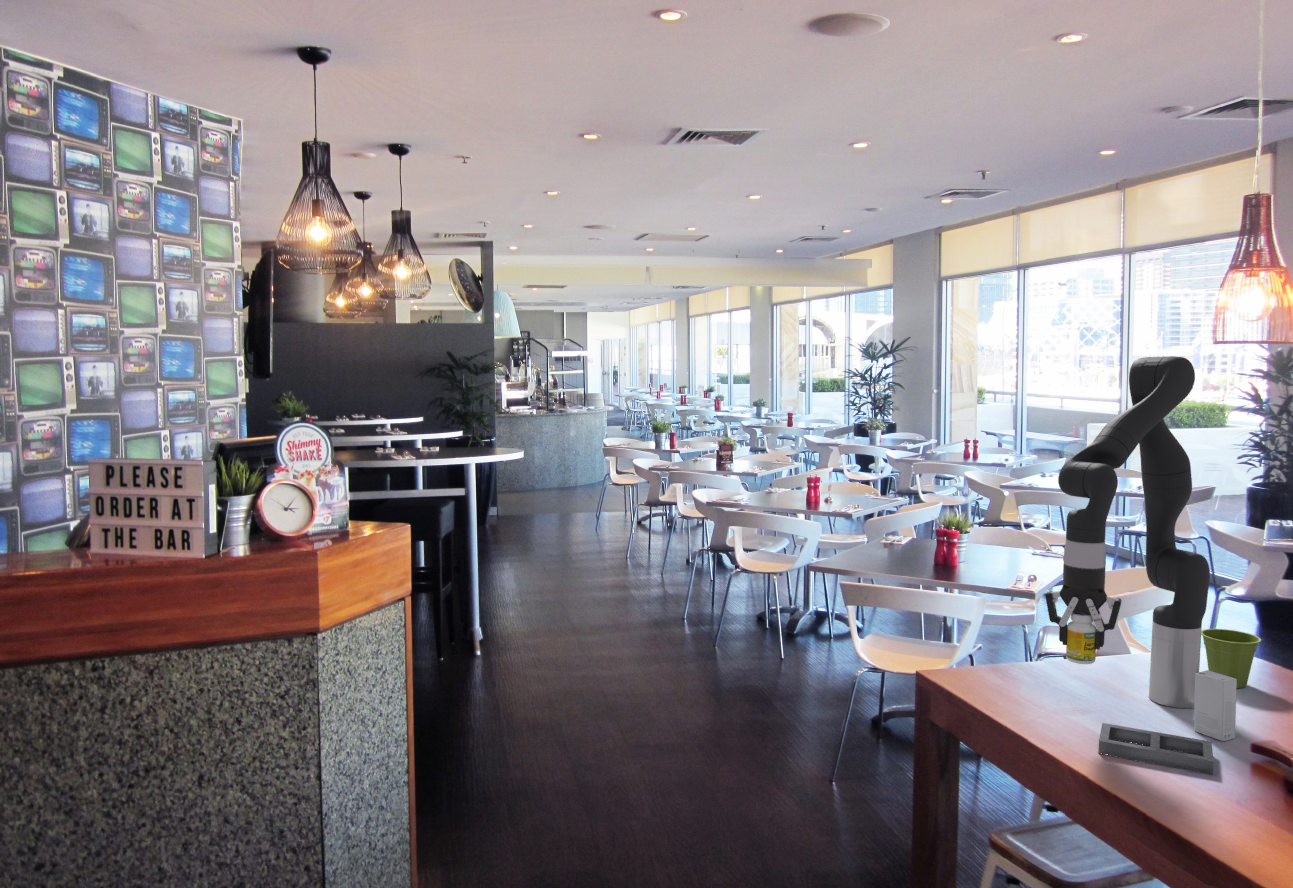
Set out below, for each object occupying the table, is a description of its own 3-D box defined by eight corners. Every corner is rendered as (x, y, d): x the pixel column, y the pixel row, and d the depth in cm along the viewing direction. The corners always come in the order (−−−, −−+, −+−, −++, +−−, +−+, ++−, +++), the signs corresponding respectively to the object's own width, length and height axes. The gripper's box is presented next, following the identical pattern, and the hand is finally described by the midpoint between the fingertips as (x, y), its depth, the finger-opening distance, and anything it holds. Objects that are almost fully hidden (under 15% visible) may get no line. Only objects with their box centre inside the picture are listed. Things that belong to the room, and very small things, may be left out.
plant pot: (1261, 682, 215) (1265, 634, 214) (1253, 696, 206) (1256, 646, 205) (1203, 670, 222) (1205, 624, 221) (1192, 684, 213) (1195, 636, 212)
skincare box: (1236, 738, 183) (1239, 678, 182) (1221, 742, 181) (1225, 681, 180) (1205, 727, 188) (1208, 668, 187) (1191, 731, 186) (1194, 672, 185)
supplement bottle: (1076, 654, 189) (1077, 608, 189) (1101, 661, 185) (1103, 614, 184) (1060, 659, 187) (1061, 612, 186) (1085, 666, 182) (1087, 618, 181)
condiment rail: (1101, 734, 184) (1102, 722, 184) (1210, 754, 175) (1211, 741, 175) (1098, 753, 176) (1098, 740, 176) (1212, 774, 167) (1213, 761, 167)
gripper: (1126, 562, 184) (1122, 646, 185) (1047, 555, 191) (1044, 636, 192) (1124, 570, 177) (1120, 657, 179) (1042, 562, 184) (1039, 645, 186)
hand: (1081, 645), depth 186 cm, fingers closed on supplement bottle, 5 cm apart
